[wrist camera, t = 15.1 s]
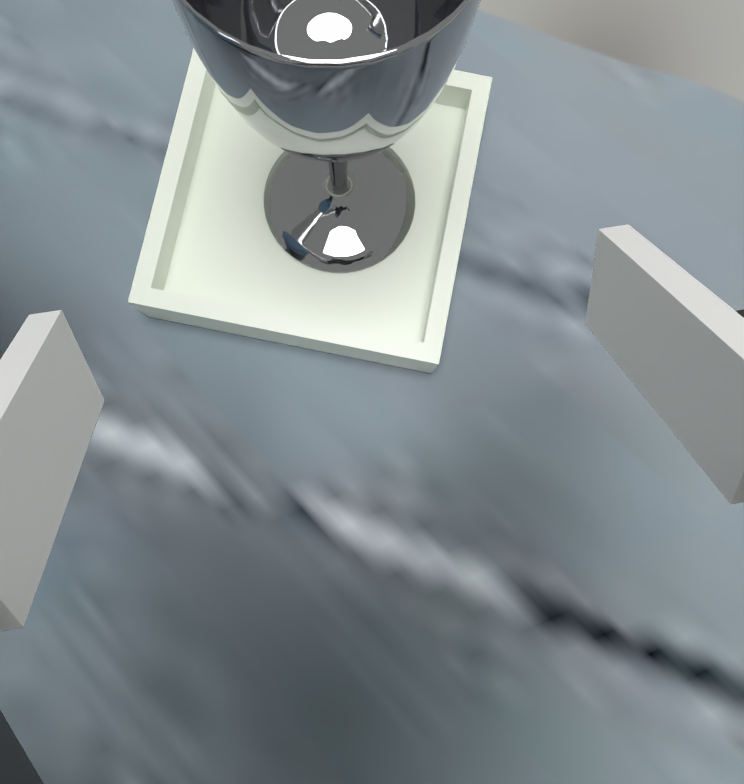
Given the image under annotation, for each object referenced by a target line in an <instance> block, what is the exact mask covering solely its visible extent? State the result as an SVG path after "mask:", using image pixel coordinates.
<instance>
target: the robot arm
mask: <svg viewBox="0 0 744 784" xmlns="http://www.w3.org/2000/svg"><path fill="white" fill-rule="evenodd" d="M585 325H586V326H587V327H588V328H589V330H590V331H591V332H592V333H593V335H594V336H595V337H596V338H597V340H598V341H599V342H600V343H601V345H602V346H603V347H604V348H605V349H606V351H607V352H608V353H609V354H610V356H611V357H612V358H613V359H614V361H615V362H616V363H617V364H618V366H619V367H620V368H621V369H622V370H623V372H624V373H625V374H626V375H627V377H628V378H629V379H630V380H631V382H632V383H633V384H634V385H635V387H636V388H637V389H638V390H639V392H640V393H641V394H642V395H643V396H644V398H645V399H646V400H647V401H648V403H649V404H650V405H651V406H652V408H653V409H654V410H655V411H656V413H657V414H658V415H659V416H660V418H661V419H662V420H663V421H664V422H665V424H666V425H667V426H668V427H669V429H670V430H671V431H672V432H673V434H674V435H675V436H676V437H677V439H678V440H679V441H680V442H681V443H682V445H683V446H684V447H685V448H686V450H687V451H688V452H689V453H690V455H691V456H692V457H693V458H694V460H695V461H696V462H697V463H698V465H699V466H700V467H701V468H702V469H703V471H704V472H705V473H706V474H707V476H708V477H709V478H710V479H711V481H712V482H713V483H714V484H715V486H716V487H717V488H718V489H719V491H720V492H721V493H722V494H723V495H724V497H725V498H726V499H727V500H728V502H729V503H730V504H736V503H742V502H744V310H738V311H735V310H733V309H732V308H731V307H730V306H728V305H727V304H726V303H725V302H724V301H722V300H721V299H720V298H719V297H717V296H716V295H715V294H714V293H712V292H711V291H710V290H709V289H707V288H706V287H705V286H704V285H703V284H701V283H700V282H699V281H698V280H696V279H695V278H694V277H693V276H691V275H690V274H689V273H688V272H686V271H685V270H684V269H683V268H682V267H680V266H679V265H678V264H677V263H675V262H674V261H673V260H672V259H670V258H669V257H668V256H667V255H665V254H664V253H663V252H662V251H661V250H659V249H658V248H657V247H656V246H654V245H653V244H652V243H651V242H649V241H648V240H647V239H646V238H644V237H643V236H642V235H641V234H639V233H638V232H637V231H636V230H635V229H633V228H632V227H631V226H630V225H622V226H615V227H609V228H602V229H598V236H597V243H596V250H595V258H594V265H593V272H592V279H591V286H590V294H589V301H588V308H587V315H586V323H585ZM103 403H104V398H103V396H102V394H101V392H100V390H99V387H98V385H97V383H96V381H95V379H94V377H93V375H92V373H91V371H90V368H89V366H88V364H87V362H86V360H85V358H84V356H83V354H82V352H81V350H80V347H79V345H78V343H77V341H76V339H75V337H74V335H73V333H72V331H71V328H70V326H69V324H68V322H67V320H66V318H65V316H64V314H63V312H62V310H57V311H51V312H44V313H37V314H31V315H29V316H28V317H27V319H26V320H25V322H24V323H23V325H22V327H21V328H20V330H19V331H18V333H17V334H16V336H15V338H14V339H13V341H12V342H11V344H10V345H9V347H8V349H7V350H6V352H5V353H4V355H3V356H2V358H1V360H0V631H6V630H11V629H17V628H23V627H24V625H25V622H26V619H27V616H28V613H29V611H30V608H31V605H32V602H33V599H34V597H35V594H36V591H37V588H38V585H39V583H40V580H41V577H42V574H43V571H44V569H45V566H46V563H47V560H48V557H49V555H50V552H51V549H52V546H53V543H54V541H55V538H56V535H57V532H58V529H59V527H60V524H61V521H62V518H63V515H64V513H65V510H66V507H67V504H68V501H69V499H70V496H71V493H72V490H73V487H74V485H75V482H76V479H77V476H78V473H79V471H80V468H81V465H82V462H83V459H84V456H85V454H86V451H87V448H88V445H89V442H90V440H91V437H92V434H93V431H94V428H95V426H96V423H97V420H98V417H99V414H100V412H101V409H102V406H103ZM0 784H43V782H42V780H41V779H40V777H39V775H38V774H37V772H36V770H35V768H34V767H33V765H32V763H31V762H30V760H29V758H28V757H27V755H26V753H25V751H24V750H23V748H22V746H21V745H20V743H19V741H18V740H17V738H16V736H15V734H14V733H13V731H12V729H11V728H10V726H9V724H8V723H7V721H6V719H5V717H4V716H3V714H2V712H1V711H0Z"/></svg>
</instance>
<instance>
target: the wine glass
mask: <svg viewBox="0 0 744 784" xmlns="http://www.w3.org/2000/svg"><path fill="white" fill-rule="evenodd" d="M172 1H173V3H174V6H175V9H176V11H177V13H178V16H179V18H180V20H181V22H182V24H183V27H184V29H185V31H186V33H187V35H188V38H189V40H190V42H191V44H192V46H193V48H194V50H195V51H196V53H197V55H198V56H199V58H200V60H201V61H202V63H203V64H204V66H205V68H206V69H207V71H208V73H209V74H210V76H211V77H212V79H213V81H214V82H215V84H216V85H217V87H218V89H219V90H220V92H221V94H222V95H223V96H224V97H225V98H226V100H227V101H228V102H229V103H230V104H231V106H232V107H233V108H234V109H235V111H236V112H237V113H238V114H239V115H240V116H241V117H242V118H243V120H244V121H245V122H246V123H247V124H248V125H249V126H250V127H251V128H253V129H254V130H255V131H256V132H258V133H259V134H260V135H261V136H263V137H264V138H265V139H267V140H268V141H269V142H270V143H272V144H273V145H275V146H277V147H279V148H281V149H282V150H284V152H283V153H282V154H281V155H280V156H279V157H278V159H277V160H276V162H275V163H274V165H273V167H272V168H271V170H270V172H269V175H268V178H267V180H266V184H265V189H264V212H265V217H266V221H267V223H268V226H269V229H270V231H271V233H272V235H273V236H274V238H275V240H276V241H277V243H278V244H279V245H280V246H281V247H282V248H283V249H284V251H285V252H287V253H288V254H289V255H290V256H292V257H293V258H294V259H295V260H297V261H299V262H300V263H302V264H304V265H306V266H308V267H311V268H314V269H316V270H319V271H324V272H331V273H350V272H355V271H361V270H364V269H366V268H369V267H372V266H374V265H376V264H378V263H379V262H381V261H383V260H385V259H386V258H387V257H388V256H389V255H391V254H392V253H393V252H394V251H395V250H396V249H397V248H398V247H399V246H400V244H401V243H402V242H403V240H404V239H405V237H406V235H407V234H408V232H409V230H410V227H411V224H412V221H413V219H414V213H415V206H416V204H415V190H414V185H413V181H412V178H411V176H410V174H409V171H408V169H407V167H406V166H405V164H404V163H403V161H402V160H401V158H400V157H399V156H398V155H397V154H396V153H395V152H394V151H393V149H391V148H390V146H392V145H394V144H395V143H396V142H397V141H399V140H400V139H401V138H402V137H404V136H405V135H406V134H407V133H409V132H410V131H411V130H412V129H413V128H414V127H415V126H416V125H417V124H418V123H419V122H420V120H421V119H422V118H423V117H424V116H425V115H426V114H427V112H428V111H429V110H430V108H431V107H432V105H433V104H434V102H435V101H436V99H437V98H438V96H439V95H440V93H441V91H442V90H443V88H444V86H445V85H446V83H447V81H448V80H449V78H450V76H451V74H452V72H453V70H454V68H455V66H456V64H457V62H458V60H459V58H460V56H461V54H462V52H463V50H464V48H465V45H466V42H467V39H468V37H469V34H470V31H471V28H472V25H473V22H474V19H475V16H476V13H477V10H478V7H479V4H480V1H481V0H172Z"/></svg>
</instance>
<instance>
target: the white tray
mask: <svg viewBox="0 0 744 784" xmlns="http://www.w3.org/2000/svg"><path fill="white" fill-rule="evenodd" d="M491 81H492V77H487V76H482V75H477V74H472V73H467V72H462V71H457V70H453V72H452V74H451V76H450V78H449V80H448V81H447V83H446V85H445V86H444V88H443V90H442V91H441V93H440V95H439V96H438V98H437V99H436V101H435V102H434V104H433V105H432V107H431V108H430V110H429V111H428V112H427V114H426V115H425V116H424V117H423V118H422V119H421V120H420V122H419V123H418V124H417V125H416V126H415V127H414V128H413V129H412V130H411V131H410V132H409V133H407V134H406V135H405V136H404V137H402V138H401V139H400V140H399V141H397V142H396V143H395V144H394V145H392V146H390V148H391V149H393V151H394V152H395V153H396V154H397V155H398V156H399V157H400V158H401V160H402V161H403V163H404V164H405V166H406V167H407V169H408V171H409V174H410V176H411V178H412V181H413V185H414V190H415V204H416V206H415V213H414V219H413V221H412V224H411V227H410V230H409V232H408V234H407V235H406V237H405V239H404V240H403V242H402V243H401V244H400V246H399V247H398V248H397V249H396V250H395V251H394V252H393V253H392V254H391V255H389V256H388V257H387V258H386V259H385V260H383V261H381V262H379V263H378V264H376V265H374V266H372V267H369V268H366V269H364V270H361V271H355V272H350V273H331V272H324V271H319V270H316V269H314V268H311V267H308V266H306V265H304V264H302V263H300V262H299V261H297V260H295V259H294V258H293V257H292V256H290V255H289V254H288V253H287V252H285V251H284V249H283V248H282V247H281V246H280V245H279V244H278V243H277V241H276V240H275V238H274V236H273V235H272V233H271V231H270V229H269V226H268V223H267V221H266V217H265V212H264V189H265V184H266V180H267V178H268V175H269V172H270V170H271V168H272V167H273V165H274V163H275V162H276V160H277V159H278V157H279V156H280V155H281V154H282V153H283V152H284V150H282V149H281V148H279V147H277V146H275V145H273V144H272V143H270V142H269V141H268V140H267V139H265V138H264V137H263V136H261V135H260V134H259V133H258V132H256V131H255V130H254V129H253V128H251V127H250V126H249V125H248V124H247V123H246V122H245V121H244V120H243V118H242V117H241V116H240V115H239V114H238V113H237V112H236V111H235V109H234V108H233V107H232V106H231V104H230V103H229V102H228V101H227V100H226V98H225V97H224V96H223V95H222V94H221V92H220V90H219V89H218V87H217V85H216V84H215V82H214V81H213V79H212V77H211V76H210V74H209V73H208V71H207V69H206V68H205V66H204V64H203V63H202V61H201V60H200V58H199V56H198V55H197V53H196V51H195V50H194V49H193V53H192V56H191V60H190V64H189V68H188V72H187V76H186V80H185V83H184V87H183V91H182V95H181V99H180V103H179V107H178V110H177V114H176V118H175V122H174V126H173V130H172V134H171V137H170V141H169V145H168V149H167V153H166V157H165V161H164V164H163V168H162V172H161V176H160V180H159V184H158V188H157V191H156V195H155V199H154V203H153V207H152V211H151V215H150V218H149V222H148V226H147V230H146V234H145V238H144V242H143V245H142V249H141V253H140V257H139V261H138V265H137V269H136V272H135V276H134V280H133V284H132V288H131V292H130V296H129V299H128V303H130V304H131V305H133V306H134V307H135V308H137V309H138V310H139V311H141V312H142V313H144V314H145V315H146V316H148V317H152V318H157V319H162V320H167V321H172V322H177V323H182V324H187V325H192V326H197V327H202V328H207V329H212V330H217V331H222V332H227V333H232V334H237V335H242V336H247V337H252V338H257V339H262V340H267V341H272V342H277V343H282V344H287V345H292V346H297V347H302V348H307V349H312V350H317V351H322V352H327V353H332V354H337V355H342V356H347V357H352V358H357V359H362V360H367V361H372V362H377V363H382V364H387V365H392V366H397V367H402V368H407V369H412V370H417V371H422V372H427V373H432V372H433V371H434V370H435V368H436V367H437V366H438V364H439V360H440V355H441V349H442V344H443V338H444V333H445V328H446V322H447V317H448V312H449V306H450V301H451V296H452V290H453V285H454V280H455V274H456V269H457V263H458V258H459V253H460V247H461V242H462V237H463V231H464V226H465V221H466V215H467V210H468V204H469V199H470V194H471V188H472V183H473V178H474V172H475V167H476V162H477V156H478V151H479V145H480V140H481V135H482V129H483V124H484V119H485V113H486V108H487V103H488V97H489V92H490V87H491Z"/></svg>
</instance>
